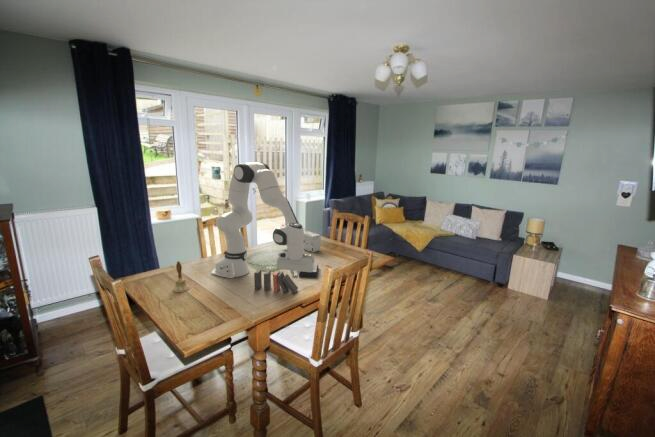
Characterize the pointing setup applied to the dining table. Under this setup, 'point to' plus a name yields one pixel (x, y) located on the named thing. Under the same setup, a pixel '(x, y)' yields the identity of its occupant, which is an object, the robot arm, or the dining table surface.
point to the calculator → (310, 274)
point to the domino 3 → (276, 282)
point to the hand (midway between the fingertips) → (295, 277)
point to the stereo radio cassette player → (311, 241)
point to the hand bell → (180, 280)
